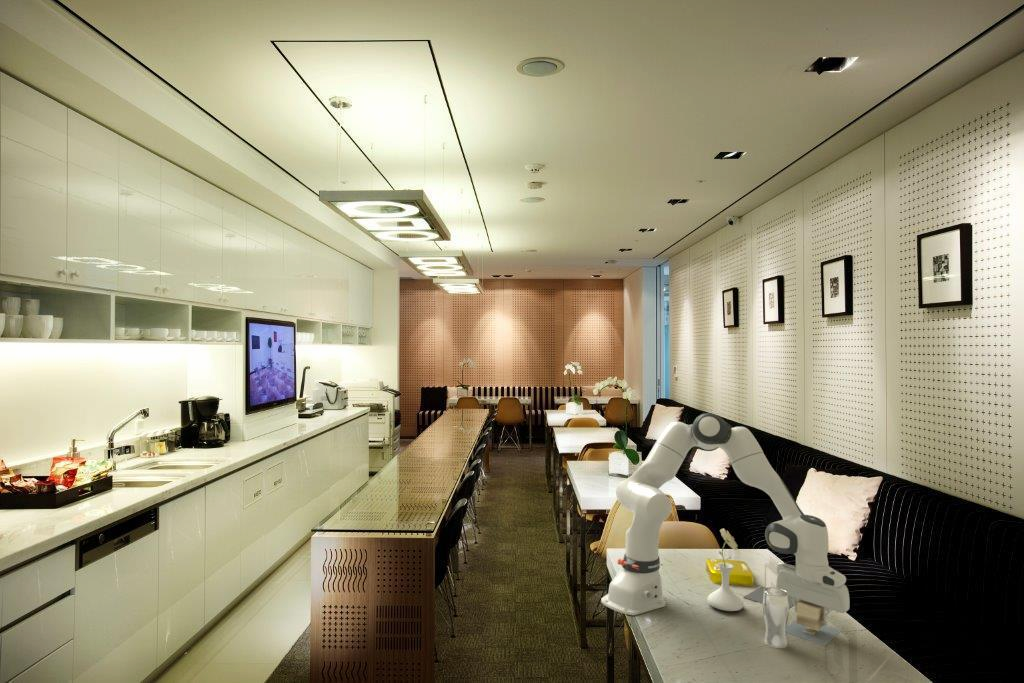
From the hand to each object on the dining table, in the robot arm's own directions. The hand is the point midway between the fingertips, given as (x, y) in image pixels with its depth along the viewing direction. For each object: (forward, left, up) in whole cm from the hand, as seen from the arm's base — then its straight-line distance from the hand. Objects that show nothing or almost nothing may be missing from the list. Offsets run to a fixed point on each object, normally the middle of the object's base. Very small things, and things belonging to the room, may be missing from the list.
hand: (811, 616), depth 175 cm
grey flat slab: (0, 0, -5) cm, 5 cm away
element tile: (+21, +37, -5) cm, 43 cm away
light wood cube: (0, 0, -2) cm, 2 cm away
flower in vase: (-4, +26, -5) cm, 27 cm away
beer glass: (-16, +4, -5) cm, 17 cm away
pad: (+14, +18, -5) cm, 23 cm away
